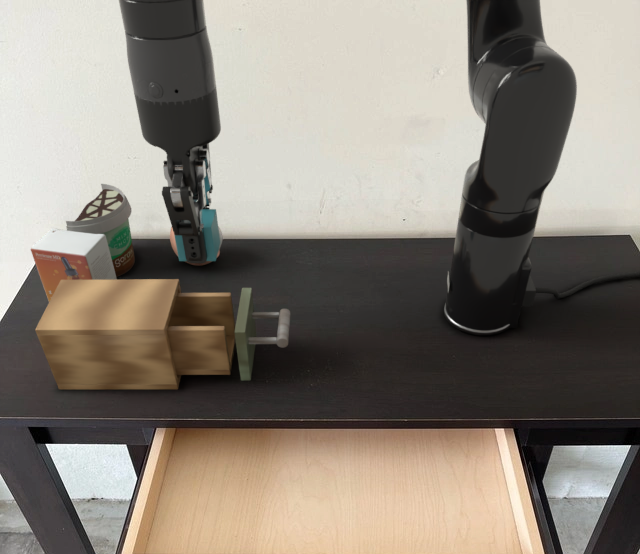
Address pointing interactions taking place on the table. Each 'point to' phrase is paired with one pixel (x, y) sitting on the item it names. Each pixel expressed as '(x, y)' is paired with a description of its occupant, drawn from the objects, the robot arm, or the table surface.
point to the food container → (109, 225)
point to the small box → (71, 258)
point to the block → (209, 233)
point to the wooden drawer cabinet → (110, 334)
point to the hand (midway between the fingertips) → (200, 249)
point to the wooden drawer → (218, 333)
